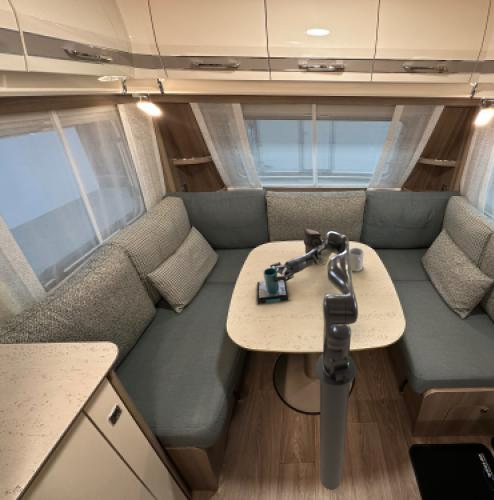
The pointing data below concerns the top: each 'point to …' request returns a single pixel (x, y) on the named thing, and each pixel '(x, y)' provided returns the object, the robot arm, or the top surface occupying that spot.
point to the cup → (270, 279)
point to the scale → (271, 293)
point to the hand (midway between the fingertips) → (269, 276)
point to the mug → (356, 259)
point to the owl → (312, 240)
